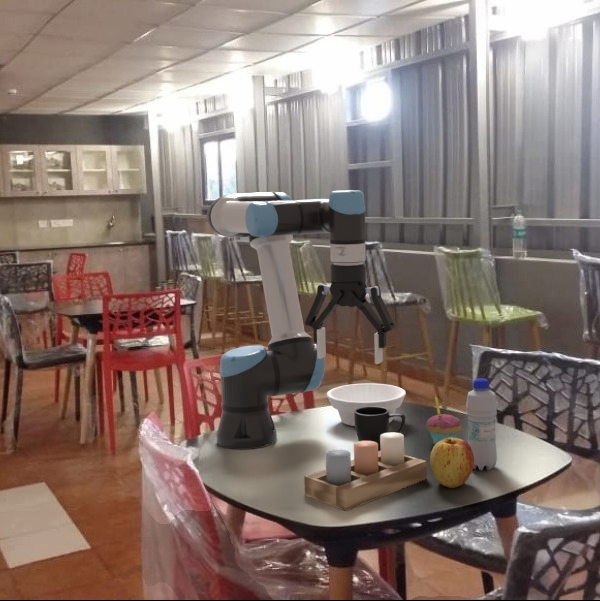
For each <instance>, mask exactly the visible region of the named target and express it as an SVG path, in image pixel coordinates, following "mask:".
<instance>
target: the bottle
mask: <svg viewBox="0 0 600 601" xmlns="http://www.w3.org/2000/svg"><path fill="white" fill-rule="evenodd" d="M472 389H473V390H470V391H468V393H467V398H466V404H465V408H466V412H465V414H466V416H467V443H468V444H469V445H470V447H471V449H472V451H473V455H474V466H473V469H472V470H476V469H477V468H478V469H479V471H484V467H486V470H487V471H490V470H492V469H493V468H495V467H496V465H497V460H498V456H497V455H498V454H497V453H498V452H497V444H496V435H497V434H496V427H497V426H496V424H497V423H496V417H497V414H498V412H497V411H498V404H497V403H498V402H497V398H496V392H494V391H492V390H491V389H490V382H489V380H488V379H487V378H483V377H481V378H480V377H479V378H475V379H474V380H473V383H472Z"/></svg>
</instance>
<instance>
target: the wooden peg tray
mask: <svg viewBox="0 0 600 601" xmlns="http://www.w3.org/2000/svg"><path fill="white" fill-rule="evenodd" d="M378 467H379V472H377V473H374V474H371V475H368V476H365V475H362V474H359V473H356V472H355V470H354V459H352V460H351V482H349V483H346V484H344V485H341V486H336V485H333V484H330V483H327V481H326V468H325V469H322V470H319V471H317V472H313V473H310V474H307V475H305V476H304V475H303V476H304V479H303V480H304V496H307V497H309V498H312V499H314V500H317V501H319V502H322V503H325V504H326V505H330V506H333V507H334V508H337V509H341V510H344V511H349V510H351V509H353V508H354V509H355V508H356V507H359V506H362V505H365V504H366V503H367V504H368V503H369V502H372V501H374V500H376V499H379V498H382V497H384V496H388V495H389V494H390V495H391V494H393V493H395V492H398V491H400V490H403V489H404V488H407V486H408V487H410V486H413V485H415V484H418V483H420V482H419V481H421V482H422V480H423V481H426V480H427V474H428V473H427V460H424V459H421V458H417V457H413V456H410V455H406V454H404V463H402V464H399V465H396V466H390V465H387V464H384V463H381V451H378ZM425 479H426V480H425ZM417 482H418V483H417ZM414 483H415V484H414ZM412 484H413V485H412ZM409 485H410V486H409ZM402 488H403V489H402ZM397 490H398V491H397Z"/></svg>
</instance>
